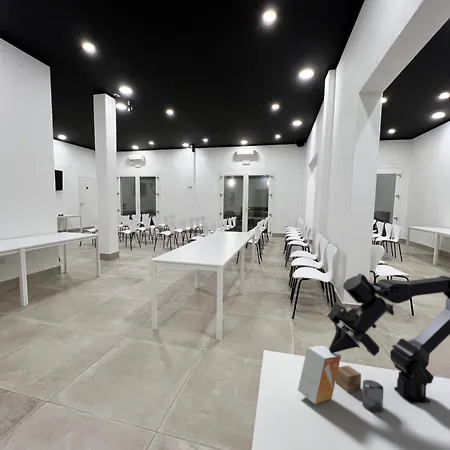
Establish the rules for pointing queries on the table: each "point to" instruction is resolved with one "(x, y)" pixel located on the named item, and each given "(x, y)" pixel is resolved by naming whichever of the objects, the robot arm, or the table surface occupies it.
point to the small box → (319, 374)
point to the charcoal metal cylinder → (372, 396)
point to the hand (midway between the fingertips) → (330, 351)
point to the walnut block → (348, 379)
